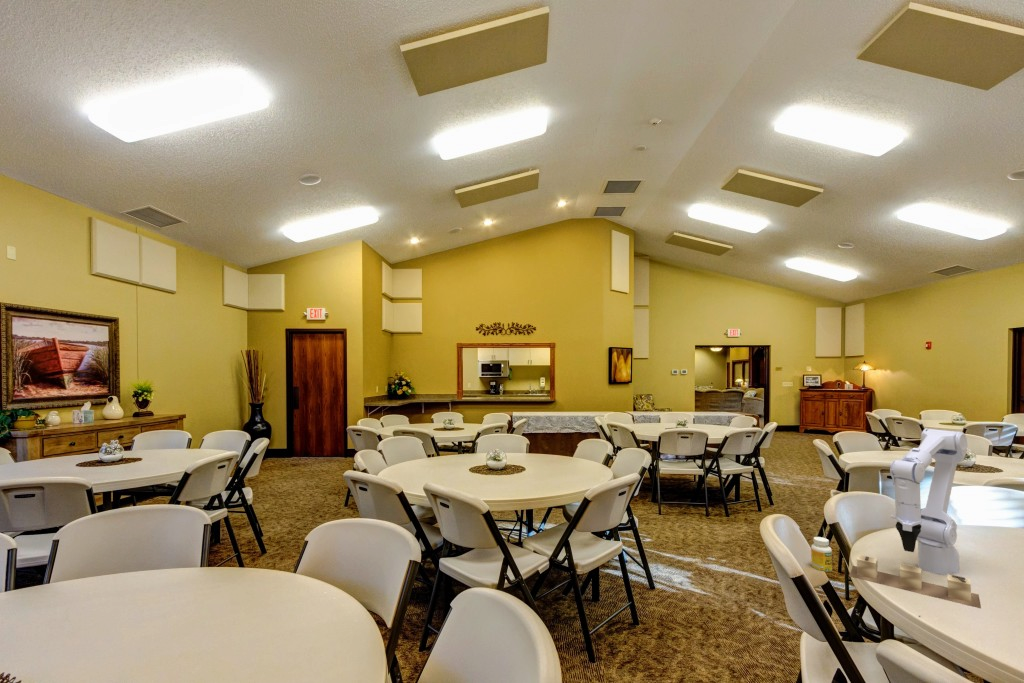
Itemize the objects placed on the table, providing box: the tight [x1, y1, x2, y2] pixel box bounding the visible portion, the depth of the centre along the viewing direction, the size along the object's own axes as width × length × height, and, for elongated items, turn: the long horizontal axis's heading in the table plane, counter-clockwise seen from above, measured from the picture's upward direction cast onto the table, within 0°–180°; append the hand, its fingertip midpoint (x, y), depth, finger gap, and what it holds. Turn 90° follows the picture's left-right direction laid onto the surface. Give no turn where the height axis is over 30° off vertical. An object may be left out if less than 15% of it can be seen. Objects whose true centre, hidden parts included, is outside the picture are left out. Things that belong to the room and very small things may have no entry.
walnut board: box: [848, 565, 982, 609], centre depth 137 cm, size 28×10×1 cm, turn 49°
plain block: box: [899, 563, 923, 590], centre depth 137 cm, size 4×4×4 cm
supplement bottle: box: [810, 536, 833, 572], centre depth 148 cm, size 5×5×10 cm
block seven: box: [946, 574, 972, 602], centre depth 130 cm, size 4×4×5 cm
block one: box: [856, 554, 878, 579], centre depth 143 cm, size 4×4×5 cm
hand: (909, 550), depth 141 cm, fingers closed
